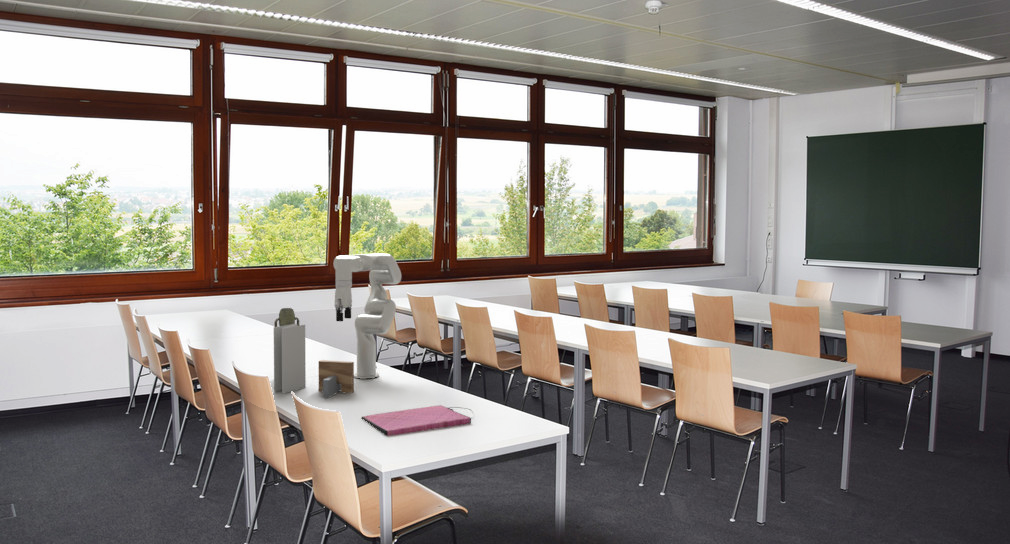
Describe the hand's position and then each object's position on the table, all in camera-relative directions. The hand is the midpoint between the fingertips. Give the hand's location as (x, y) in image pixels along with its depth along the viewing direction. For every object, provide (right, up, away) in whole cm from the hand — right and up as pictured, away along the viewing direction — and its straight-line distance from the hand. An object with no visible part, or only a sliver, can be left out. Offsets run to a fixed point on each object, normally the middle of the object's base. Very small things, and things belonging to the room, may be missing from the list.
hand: (343, 319), depth 354 cm
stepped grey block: (-2, -33, -6) cm, 34 cm away
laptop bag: (+42, -38, -52) cm, 77 cm away
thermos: (-32, -31, +19) cm, 48 cm away
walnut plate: (-2, -33, -6) cm, 34 cm away
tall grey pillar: (-24, -33, -4) cm, 41 cm away
